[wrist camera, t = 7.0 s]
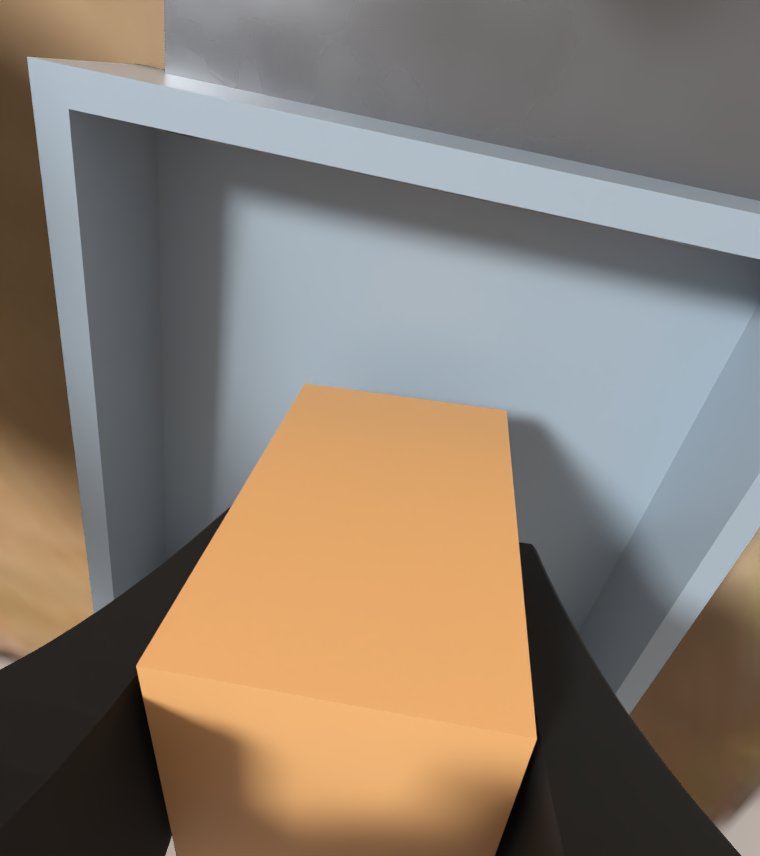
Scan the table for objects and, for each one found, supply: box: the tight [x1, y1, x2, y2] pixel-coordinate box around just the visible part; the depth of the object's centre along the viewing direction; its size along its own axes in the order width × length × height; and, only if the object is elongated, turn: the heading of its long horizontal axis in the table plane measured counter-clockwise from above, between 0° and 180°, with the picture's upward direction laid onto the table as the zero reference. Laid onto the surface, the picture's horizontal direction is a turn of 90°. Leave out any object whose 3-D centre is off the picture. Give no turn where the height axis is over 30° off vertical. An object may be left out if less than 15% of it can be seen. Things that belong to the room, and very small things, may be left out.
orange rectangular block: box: [136, 383, 537, 856], centre depth 10 cm, size 4×4×7 cm
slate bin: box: [27, 57, 760, 715], centre depth 14 cm, size 14×14×4 cm
